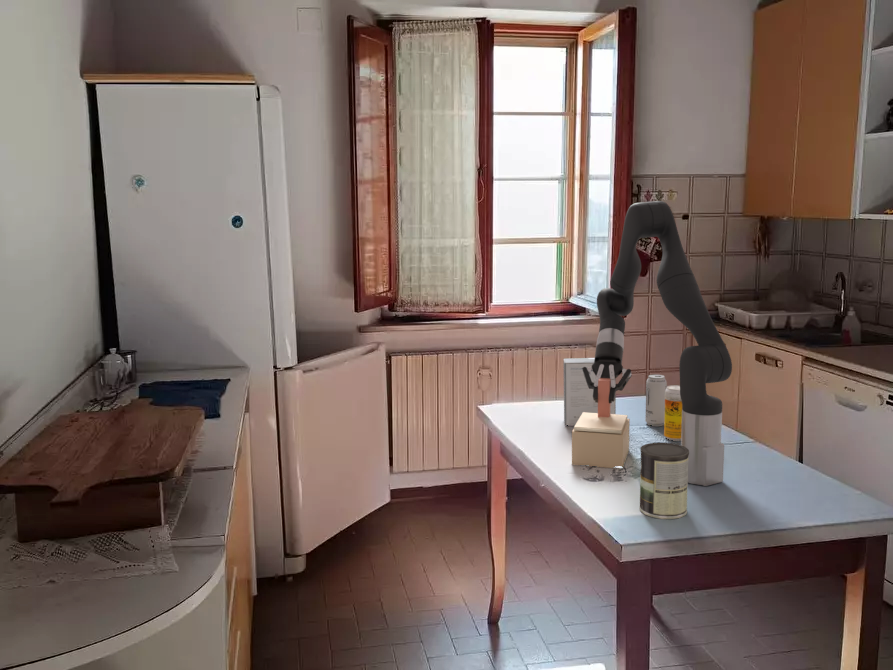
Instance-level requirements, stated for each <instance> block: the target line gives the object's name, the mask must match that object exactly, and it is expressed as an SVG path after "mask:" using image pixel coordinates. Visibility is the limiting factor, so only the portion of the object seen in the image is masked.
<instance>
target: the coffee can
mask: <svg viewBox="0 0 893 670" xmlns="http://www.w3.org/2000/svg"><path fill="white" fill-rule="evenodd" d="M688 456H689V450H688V449H687V448H686V447H684V446H681V444H678V443H672V442H649V443H646V444H643V445H641V446H640V477H639V479H640V481H639V483H640V485H639V488H640V489H639V511H640V512H641V513H642V514H643V515H646V516H648V517H650V518H654V519H660V520H675V519H681V518H683V517H685V516H687V513H688V510H687V509H688V508H687V507H688V487H689V486H688V484H689V483H688Z"/></svg>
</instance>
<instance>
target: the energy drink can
mask: <svg viewBox="0 0 893 670" xmlns="http://www.w3.org/2000/svg"><path fill="white" fill-rule="evenodd" d="M667 386H668V382H667V379H666V377H665V375H663V374H649V375H648V378H647V379H646V382H645V417H644V419H645V421H644V422H646V424H647V425H648V426H650V425H652V426H651V427H664V417H665V390H666V388H667Z"/></svg>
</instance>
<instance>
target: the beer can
mask: <svg viewBox="0 0 893 670" xmlns="http://www.w3.org/2000/svg"><path fill="white" fill-rule="evenodd" d="M663 427H664V428H663V437H665V439H666V438H667V439H666V440H668V439H669V440H668V441H671V440H673V442H681V432H682V401H681V397H680V385H677V384H676V385H674V384H673V385H672V384H671V385H667V388H666V390H665V417H664V425H663Z"/></svg>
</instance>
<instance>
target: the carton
mask: <svg viewBox="0 0 893 670" xmlns="http://www.w3.org/2000/svg"><path fill="white" fill-rule="evenodd" d="M630 423H631V421H630V418H627V421H626V423H625V426H624V428H623V431H622V433H621V434H616V433H602V432H588V431H574V428H573V429H572V431H571V465H572V466H580V465H589V466H588V467H592V466H597V467H596V468H605V469H614V468H613V467H615V466H622V467H623V466H625V464H624V463H626V460H627V457H628V454H629V451H630ZM623 468H624V467H623Z"/></svg>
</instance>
